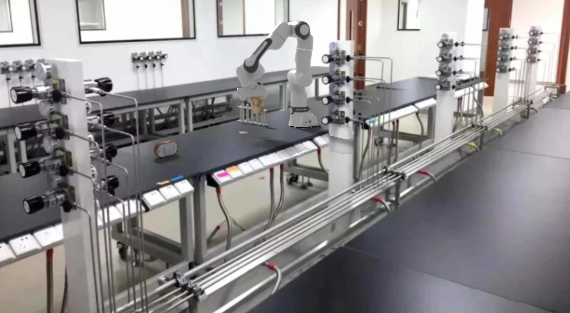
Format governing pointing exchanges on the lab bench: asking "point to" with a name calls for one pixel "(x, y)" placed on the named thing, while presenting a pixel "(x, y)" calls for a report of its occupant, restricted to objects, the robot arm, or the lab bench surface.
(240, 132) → the plate
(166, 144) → the tin
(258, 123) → the test tube rack
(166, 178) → the lab bench surface
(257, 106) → the oak block
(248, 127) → the lab bench surface
